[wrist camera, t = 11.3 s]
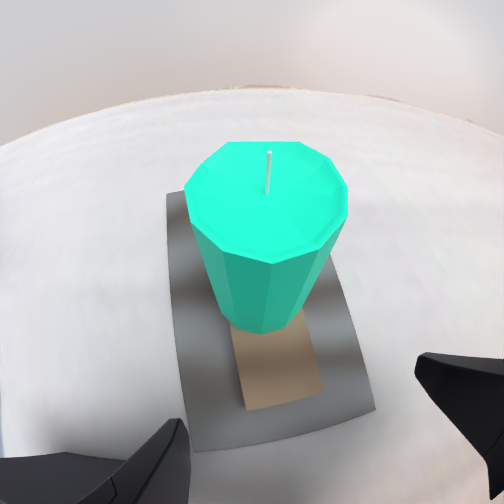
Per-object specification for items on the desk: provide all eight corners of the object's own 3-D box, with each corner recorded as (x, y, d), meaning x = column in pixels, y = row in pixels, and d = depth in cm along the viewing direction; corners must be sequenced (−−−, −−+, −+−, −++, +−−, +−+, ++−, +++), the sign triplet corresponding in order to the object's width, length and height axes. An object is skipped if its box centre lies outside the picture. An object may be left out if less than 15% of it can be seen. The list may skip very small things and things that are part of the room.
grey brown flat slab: (374, 409, 17) (393, 410, 14) (195, 451, 16) (185, 461, 13) (297, 175, 29) (301, 152, 26) (167, 195, 27) (159, 173, 24)
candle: (316, 275, 19) (376, 140, 9) (278, 350, 17) (326, 270, 6) (243, 240, 21) (237, 93, 10) (199, 307, 18) (136, 182, 8)
